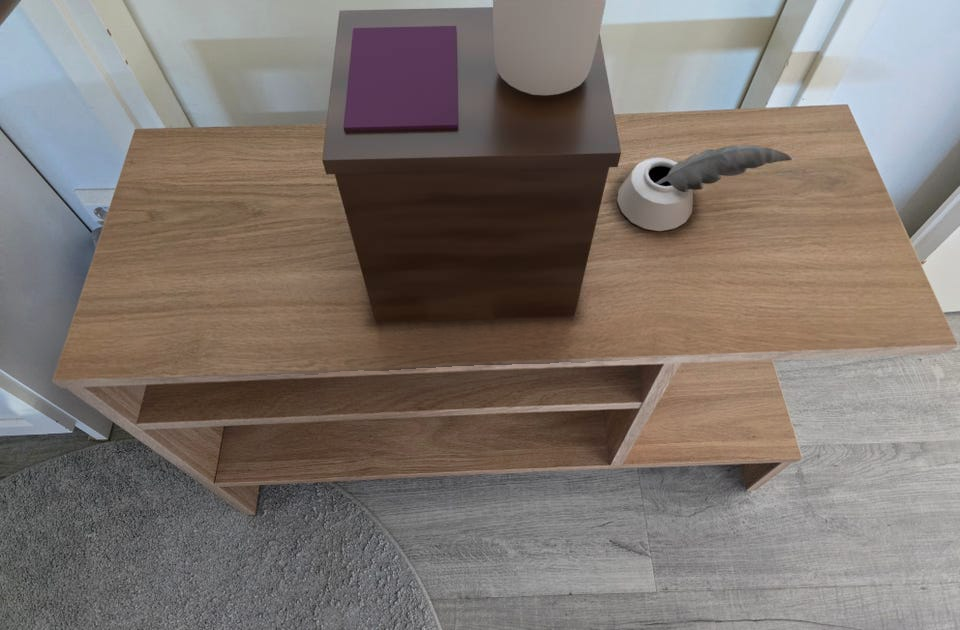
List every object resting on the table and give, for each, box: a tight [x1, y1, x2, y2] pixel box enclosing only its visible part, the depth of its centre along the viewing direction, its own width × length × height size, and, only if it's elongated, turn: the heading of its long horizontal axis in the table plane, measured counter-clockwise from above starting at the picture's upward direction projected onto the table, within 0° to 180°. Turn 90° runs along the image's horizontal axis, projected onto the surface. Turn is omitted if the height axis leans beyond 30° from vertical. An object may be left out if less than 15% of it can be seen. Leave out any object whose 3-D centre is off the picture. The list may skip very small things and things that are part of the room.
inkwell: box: [616, 144, 793, 232], centre depth 79 cm, size 9×18×10 cm, turn 90°
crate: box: [321, 6, 622, 323], centre depth 68 cm, size 18×23×26 cm
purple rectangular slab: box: [343, 26, 458, 131], centre depth 56 cm, size 12×9×1 cm
